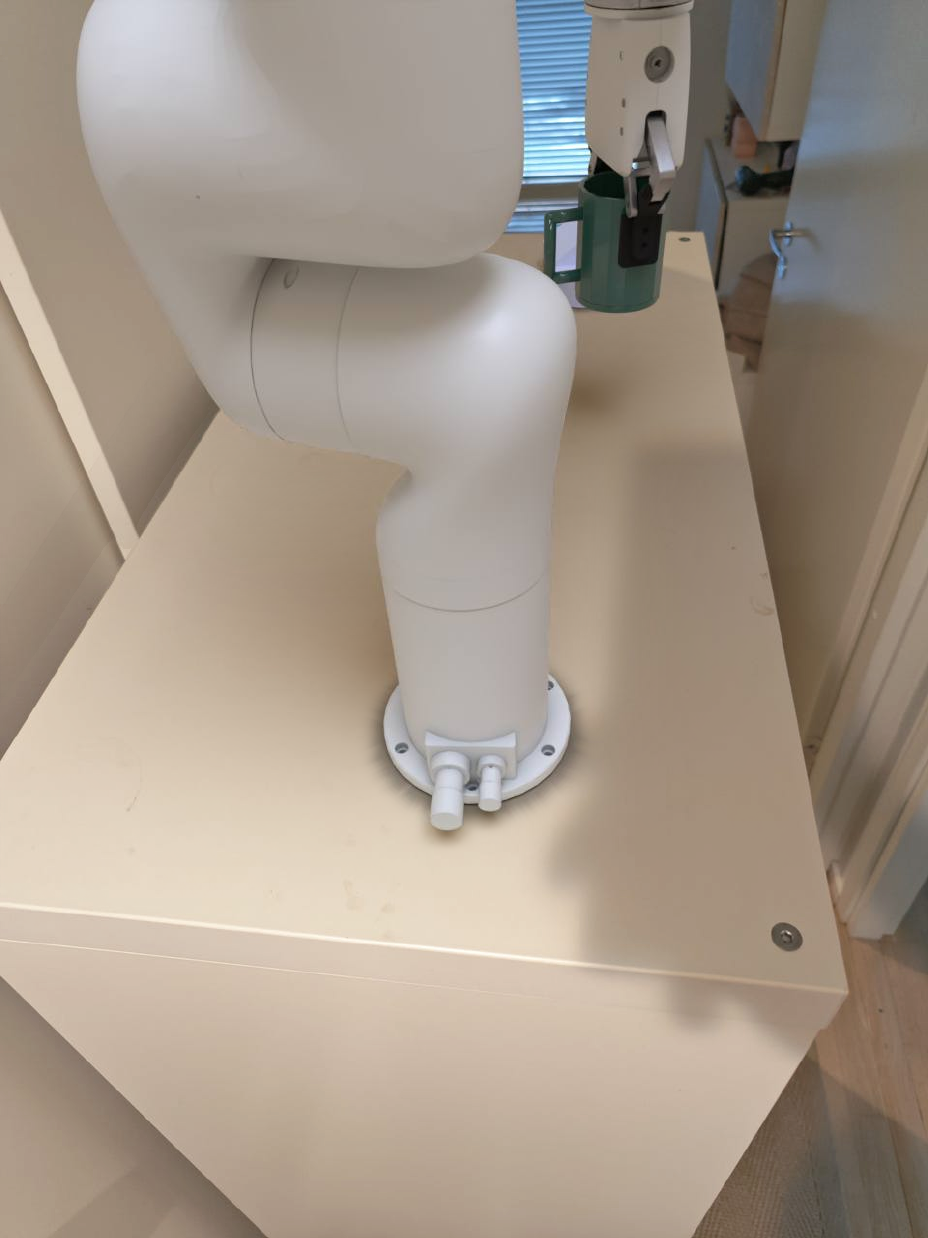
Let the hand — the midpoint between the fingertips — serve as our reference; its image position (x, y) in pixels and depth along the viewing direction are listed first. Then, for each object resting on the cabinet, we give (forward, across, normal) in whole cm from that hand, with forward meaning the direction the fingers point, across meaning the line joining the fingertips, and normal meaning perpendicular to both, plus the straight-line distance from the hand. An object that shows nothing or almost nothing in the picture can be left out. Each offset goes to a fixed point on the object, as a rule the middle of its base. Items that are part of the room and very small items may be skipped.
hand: (620, 244), depth 70 cm
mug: (+4, 0, +1) cm, 5 cm away
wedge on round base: (+18, +32, -8) cm, 38 cm away
